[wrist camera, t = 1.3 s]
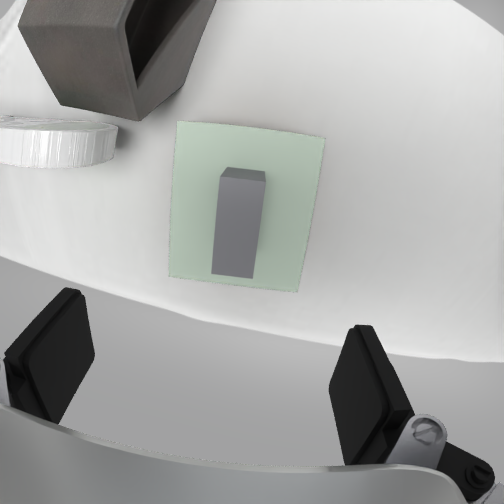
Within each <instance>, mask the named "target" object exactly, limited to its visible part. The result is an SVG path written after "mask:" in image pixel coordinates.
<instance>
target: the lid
mask: <svg viewBox="0 0 504 504" xmlns="http://www.w3.org/2000/svg"><path fill="white" fill-rule="evenodd" d="M324 144H325V138H322V137H316V136H310V135H304V134H298V133H292V132H285V131H278V130H271V129H263V128H255V127H246V126H237V125H227V124H216V123H204V122H190V121H177V130H176V141H175V152H174V165H173V179H172V195H171V215H170V241H169V277H174V278H182V279H189V280H197V281H204V282H212V283H220V284H228V285H236V286H244V287H253V288H262V289H270V290H279V291H288V292H297V291H298V287H299V282H300V277H301V272H302V267H303V262H304V257H305V252H306V247H307V242H308V237H309V231H310V226H311V221H312V215H313V210H314V204H315V199H316V193H317V187H318V181H319V175H320V169H321V163H322V157H323V150H324Z"/></svg>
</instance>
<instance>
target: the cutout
mask: <svg viewBox="0 0 504 504" xmlns="http://www.w3.org/2000/svg"><path fill="white" fill-rule="evenodd" d="M117 131H118V127H117V126H115V125H111V124H107V123H101V122H93V121H66V120H58V119H44V118H22V117H12V116H0V163H4V164H9V165H14V166H23V167H36V168H75V167H85V166H92V165H96V164H100V163H104V162H106V161H108V160H111V159H112V158H113V156H114V150H115V144H116V137H117Z"/></svg>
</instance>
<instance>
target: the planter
mask: <svg viewBox="0 0 504 504" xmlns="http://www.w3.org/2000/svg"><path fill="white" fill-rule="evenodd" d="M215 3H216V0H27V3H26V5H25V8H24V10H23V13H22V15H21V18H20V20H19V23H18V28H19V30H20V32H21V34H22V36H23V38H24V40H25V42H26V44H27V46H28V48H29V50H30V52H31V54H32V55H33V57H34V59H35V61H36V63H37V65H38V66H39V68H40V70H41V72H42V74H43V76H44V77H45V79H46V81H47V83H48V84H49V86H50V88H51V90H52V91H53V93H54V95H55V97H56V98H57V100H58V102H59V103H60V105H62V106H68V107H73V108H78V109H83V110H88V111H93V112H98V113H103V114H108V115H112V116H117V117H121V118H125V119H130V120H134V121H138V122H139V121H141V120H142V119H143V118H144V117H146V116H147V115H148V114H149V113H150V112H151V111H153V110H154V109H155V108H156V107H157V106H158V105H160V104H161V103H162V102H163V101H164V100H166V99H167V98H168V97H169V96H170V95H172V94H173V93H174V92H175V91H177V90H178V89H179V88H180V87H182V86H183V84H184V82H185V79H186V77H187V74H188V71H189V68H190V65H191V63H192V60H193V57H194V55H195V52H196V49H197V47H198V44H199V41H200V39H201V36H202V34H203V31H204V29H205V26H206V24H207V21H208V19H209V17H210V14H211V12H212V10H213V7H214V5H215Z"/></svg>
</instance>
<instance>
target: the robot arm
mask: <svg viewBox="0 0 504 504" xmlns="http://www.w3.org/2000/svg"><path fill="white" fill-rule="evenodd" d="M4 354H5V356H6V357H5V358H4V359H3V360H2V359H1V358H0V504H504V486H503V485H502V484H501V483H500V482H499V483H498V484H497V485H496V484H495V483H494V480H495V476H494V472H493V469H492V468H491V467H490V465H489V464H488V463H486V462H485V461H483V460H481V459H479V458H477V457H475V456H473V455H471V454H470V453H468V452H466V451H464V450H462V449H460V448H458V447H456V446H454V445H452V444H450V443H448V442H446V440H447V431H446V428H445V426H444V425H443V423H442V422H441V421H440V420H438V419H436V418H435V417H434V416H431V415H428V414H419V415H415V414H414V411H413V409H412V407H411V405H410V402H409V400H408V398H407V396H406V393H405V391H404V389H403V387H402V385H401V382H400V380H399V378H398V376H397V374H396V372H395V370H394V367H393V366H392V364H391V363H390V361H389V359H388V357H387V355H386V353H385V351H384V349H383V347H382V345H381V343H380V341H379V339H378V337H377V335H376V332H375V330H374V329H373V327H372V326H371V325H355V326H354V328H350V329H349V331H348V334H347V336H346V339H345V342H344V345H343V348H342V351H341V354H340V356H339V360H338V362H337V365H336V367H335V370H334V373H333V375H332V378H331V381H330V384H329V394H330V399H331V403H332V408H333V412H334V417H335V421H336V426H337V431H338V435H339V440H340V445H341V449H342V454H343V459H344V463H345V466H315V467H314V466H300V467H299V466H297V467H296V466H263V465H247V464H236V463H225V462H216V461H208V460H201V459H194V458H187V457H181V456H175V455H169V454H164V453H159V452H154V451H149V450H145V449H140V448H136V447H131V446H127V445H124V444H120V443H116V442H112V441H108V440H104V439H101V438H97V437H94V436H91V435H87V434H84V433H81V432H78V431H75V430H72V429H69V428H66V427H63V426H60V425H58V424H59V422H60V420H61V419H62V417H63V415H64V413H65V411H66V409H67V407H68V405H69V403H70V402H71V400H72V398H73V396H74V394H75V393H76V391H77V389H78V387H79V385H80V384H81V382H82V380H83V378H84V377H85V375H86V373H87V371H88V370H89V368H90V366H91V364H92V363H93V361H94V357H95V352H94V347H93V342H92V337H91V331H90V326H89V320H88V314H87V308H86V301H85V297H84V295H82V294H81V292H80V290H77V289H72V288H67V287H66V288H64V289H63V290H61V292H60V293H59V294H58V295H57V296H56V297H55V298H54V299H53V300H52V301H51V302H50V303H49V304H48V305H47V306H46V307H45V308H44V309H43V310H42V311H41V312H40V313H39V315H38V316H37V317H36V318H35V319H34V320H33V321H32V322H31V323H30V324H29V325H28V327H27V328H26V329H25V330H24V331H23V332H22V333H21V334H20V335H19V337H18V338H17V339H16V340H15V341H14V342H13V343H12V345H11V346H10V347H9V348H8V349H7V350H6V352H5V353H4Z"/></svg>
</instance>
